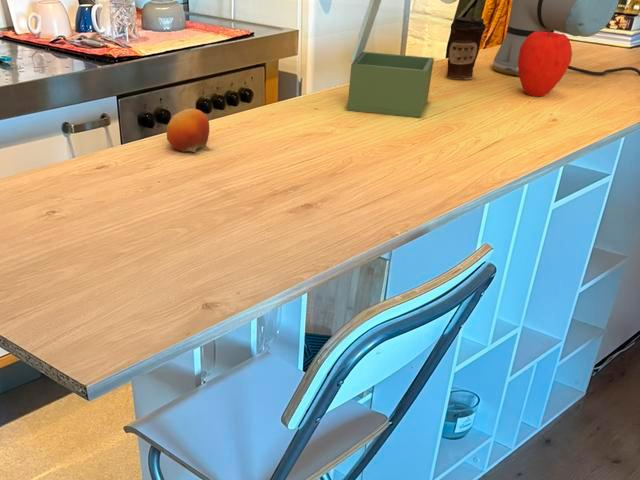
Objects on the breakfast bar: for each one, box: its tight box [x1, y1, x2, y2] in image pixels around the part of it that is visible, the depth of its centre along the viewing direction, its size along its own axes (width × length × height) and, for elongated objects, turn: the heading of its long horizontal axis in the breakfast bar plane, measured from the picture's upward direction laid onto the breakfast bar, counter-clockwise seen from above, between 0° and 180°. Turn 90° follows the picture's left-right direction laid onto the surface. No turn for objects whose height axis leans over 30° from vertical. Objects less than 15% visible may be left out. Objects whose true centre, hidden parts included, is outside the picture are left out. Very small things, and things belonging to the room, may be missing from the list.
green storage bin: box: [346, 51, 435, 119], centre depth 178 cm, size 16×14×9 cm
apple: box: [518, 30, 573, 97], centre depth 189 cm, size 12×12×13 cm
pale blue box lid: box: [349, 0, 382, 63], centre depth 171 cm, size 17×14×1 cm
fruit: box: [166, 108, 210, 153], centre depth 151 cm, size 8×8×8 cm
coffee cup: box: [446, 16, 487, 80], centre depth 200 cm, size 9×8×13 cm
